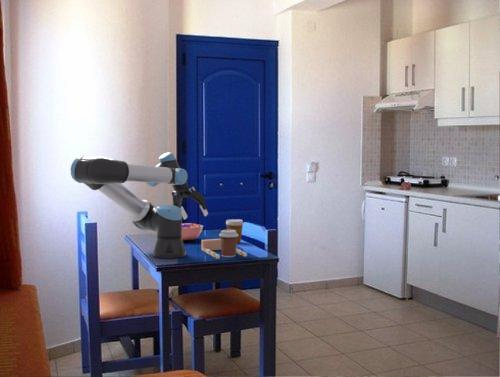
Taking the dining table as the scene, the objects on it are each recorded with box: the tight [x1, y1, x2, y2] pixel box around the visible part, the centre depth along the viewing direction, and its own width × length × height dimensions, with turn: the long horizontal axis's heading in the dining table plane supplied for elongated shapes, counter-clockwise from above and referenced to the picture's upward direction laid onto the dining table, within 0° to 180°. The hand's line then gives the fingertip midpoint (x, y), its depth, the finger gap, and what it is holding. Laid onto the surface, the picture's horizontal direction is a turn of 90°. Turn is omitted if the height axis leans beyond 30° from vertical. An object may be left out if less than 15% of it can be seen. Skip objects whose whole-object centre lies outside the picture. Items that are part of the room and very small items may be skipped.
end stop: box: [200, 238, 222, 252], centre depth 293 cm, size 3×15×5 cm, turn 113°
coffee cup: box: [218, 229, 238, 258], centre depth 276 cm, size 9×9×12 cm
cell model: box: [182, 222, 204, 242], centre depth 317 cm, size 17×20×11 cm
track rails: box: [202, 247, 248, 260], centre depth 282 cm, size 20×15×2 cm
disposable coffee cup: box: [225, 218, 244, 245], centre depth 311 cm, size 10×10×12 cm
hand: (196, 216), depth 303 cm, fingers open, 13 cm apart
